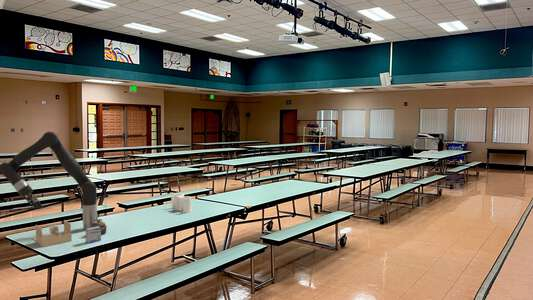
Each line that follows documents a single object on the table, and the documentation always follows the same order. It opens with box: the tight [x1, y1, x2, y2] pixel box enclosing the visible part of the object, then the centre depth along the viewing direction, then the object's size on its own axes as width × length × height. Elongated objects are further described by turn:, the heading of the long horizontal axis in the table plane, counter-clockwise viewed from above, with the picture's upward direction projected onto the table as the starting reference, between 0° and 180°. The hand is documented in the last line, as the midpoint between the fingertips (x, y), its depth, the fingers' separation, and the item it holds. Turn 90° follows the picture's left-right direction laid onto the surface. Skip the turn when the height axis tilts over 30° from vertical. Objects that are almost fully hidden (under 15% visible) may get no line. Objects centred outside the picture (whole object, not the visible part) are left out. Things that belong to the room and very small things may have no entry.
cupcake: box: [91, 218, 108, 236], centre depth 265 cm, size 10×10×10 cm
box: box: [49, 224, 60, 237], centre depth 248 cm, size 4×5×10 cm
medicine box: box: [84, 226, 102, 244], centre depth 249 cm, size 8×4×9 cm, turn 138°
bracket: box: [170, 193, 192, 214], centre depth 337 cm, size 25×10×12 cm, turn 36°
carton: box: [31, 219, 73, 248], centre depth 253 cm, size 17×25×11 cm
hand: (39, 207), depth 257 cm, fingers open, 8 cm apart
